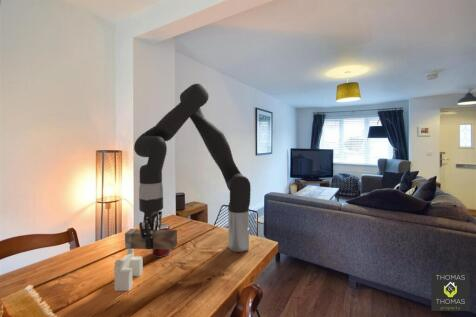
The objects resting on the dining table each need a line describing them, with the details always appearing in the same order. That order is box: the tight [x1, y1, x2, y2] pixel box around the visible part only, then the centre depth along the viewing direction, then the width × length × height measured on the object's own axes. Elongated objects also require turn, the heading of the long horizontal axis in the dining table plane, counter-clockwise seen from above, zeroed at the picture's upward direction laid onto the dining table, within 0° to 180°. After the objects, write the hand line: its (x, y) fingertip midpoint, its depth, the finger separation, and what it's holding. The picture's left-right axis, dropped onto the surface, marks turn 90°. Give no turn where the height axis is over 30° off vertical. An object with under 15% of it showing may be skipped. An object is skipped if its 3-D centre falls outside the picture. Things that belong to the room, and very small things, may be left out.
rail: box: [124, 228, 178, 250], centre depth 78 cm, size 16×4×5 cm, turn 89°
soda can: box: [151, 223, 171, 258], centre depth 98 cm, size 7×7×12 cm
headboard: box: [113, 249, 144, 292], centre depth 78 cm, size 5×10×10 cm, turn 0°
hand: (152, 245), depth 78 cm, fingers closed on rail, 4 cm apart
